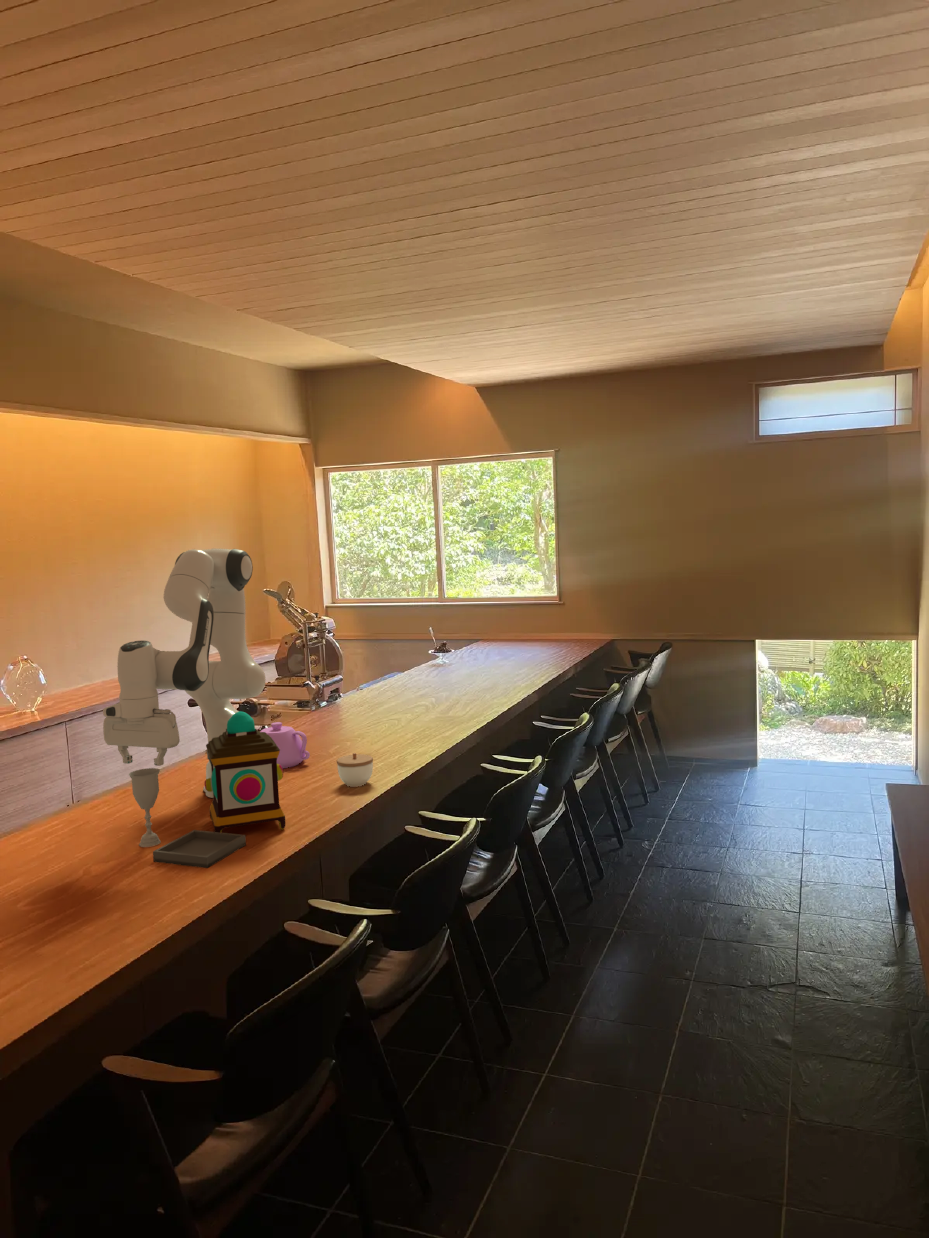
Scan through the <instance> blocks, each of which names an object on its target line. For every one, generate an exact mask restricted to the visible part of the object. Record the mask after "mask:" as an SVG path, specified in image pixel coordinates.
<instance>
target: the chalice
mask: <svg viewBox="0 0 929 1238" xmlns="http://www.w3.org/2000/svg"><path fill="white" fill-rule="evenodd" d="M160 772H161V769H159V768H155V767H153V768H152V767H151V768H150V767H149V768H142V769H136V770H134V771H131V772H129V773H128V776H129V778H130V779H131V789H132V795H133V797H134V800H135V802H136V803H137V805H138V806H139V807H140V809H141V810H144V811H145V815H144V817H143V818H144V819H145V823H144V826H145V828H146V832H145V833H144V834H142V836H141V839H140V842H139V844H138V847H141V848H150V847H155V846H158V845H159V844H161V840H160V837H159V836H158V834H157V833H156V832H153V830H152V825H153V823H152V822H151V818H152V815H151V813H150V810H151V809H152V808H153V807H155V803H156V801H157V799H158V795H159V792H160V785H159V774H160Z"/></svg>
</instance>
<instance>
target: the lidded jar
mask: <svg viewBox="0 0 929 1238" xmlns="http://www.w3.org/2000/svg"><path fill="white" fill-rule="evenodd" d="M373 762H374V757H373V756H372V755H369V754H363V753H362V754H361V753H356V752H352V754H348V755H343V756H340V757H338V758H337V759H336V765H337V773H338V776H339V779H340V780H341V781H342V782H343V784H345V786H346V785H347V786H346V787H349V786H350V787H349V788H356V787H358V786H359V787H363V786H365V785H367V783H368V781H370V779H371V777H372V774H373V768H374V763H373ZM364 784H365V785H364ZM362 785H363V786H362ZM359 787H358V788H359Z"/></svg>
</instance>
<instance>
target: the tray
mask: <svg viewBox="0 0 929 1238" xmlns="http://www.w3.org/2000/svg"><path fill="white" fill-rule="evenodd" d="M246 840H247V839H246V834H238V833H230V832H229V833H228V832H221V833H220V832H215V831H207V830H197V829H193V830H191V831H190V832H187V833H186V834H183V835H181V836H180V837H178V838H176V839H174V840H172V841H170V842H168V843H166V844H165V845H162V846H161V847H159V848H156V849H155V850H153V851H152V858H153V863H158V864H159V863H161V864H169V865H178V866H186V867H193V868H194V867H197V868H203V869H204V868H205V869H208V868H210V867H212V866H214V865H215V864H217V863H218V862H220V861H222V860H223V859H225V858H227V857H229V856H230V855H232V854H233V853H235V852H237V851H238V850H240V849H242V848H243V847H245V846H247V841H246Z"/></svg>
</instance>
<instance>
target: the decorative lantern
mask: <svg viewBox="0 0 929 1238" xmlns="http://www.w3.org/2000/svg"><path fill="white" fill-rule="evenodd" d="M238 711H239V710H238ZM260 731H261V730H258V729H257V728H256V726H255V719H254V718H253V717H252V716H251V715H250V714H248V713H247V712H244V711H241V710H240V711H239V712H236V713H235V714H233V715H232V717H231V718H230V719H229V720H228V722H227V729H226V732H223V734H222V735H220V736H219V737H215V738H212V740H211V741H209V742H208V741H207V743H206V744H205V747H206V752H207V751H208V754H209V756H210V759H211V768H212V776H211V778H208V779H206V778H205V780H204V786H205V789H206V790H207V791H208V792H212V791H213V798H212V802H211V804H210V806H209V817H210V820H211V821H212V825H213V830H214V831H213V832H220V833H223V832H222V831H223V830H224V829H227V828H228V829H229V828H233V827H240V826H247V825H255V824H261V823H266V822H267V823H268V822H274V821H277V822H278V825H279V826H278V827H279V829H280V830H284V829H286V828H285V827H286V815H285V813H284V811H283V809H282V807H281V805H280V795H279V793H280V792H279V781H281V780H282V779H283V777H284V768H283V769H282V767H281V765H280V764H277V758H278V755H279V753H280V749H279V748H278V746H277V745H276V743H275V742H274V741H273V739H272V738H271V737H270V736H269V735H268V734H266V733H265V732H260Z"/></svg>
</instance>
